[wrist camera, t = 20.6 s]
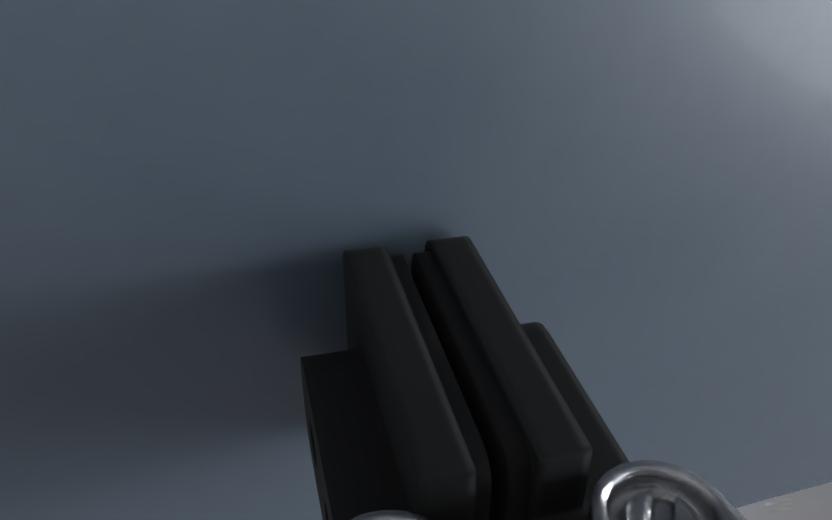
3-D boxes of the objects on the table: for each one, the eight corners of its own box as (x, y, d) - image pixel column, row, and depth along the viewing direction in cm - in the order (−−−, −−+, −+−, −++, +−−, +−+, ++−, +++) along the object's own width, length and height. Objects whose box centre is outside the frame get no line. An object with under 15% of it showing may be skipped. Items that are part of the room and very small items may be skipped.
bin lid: (3, 664, 13) (-3, 711, 13) (-431, -210, 6) (-495, -205, 6) (890, 433, 18) (919, 458, 17) (1194, -221, 11) (1260, -220, 10)
